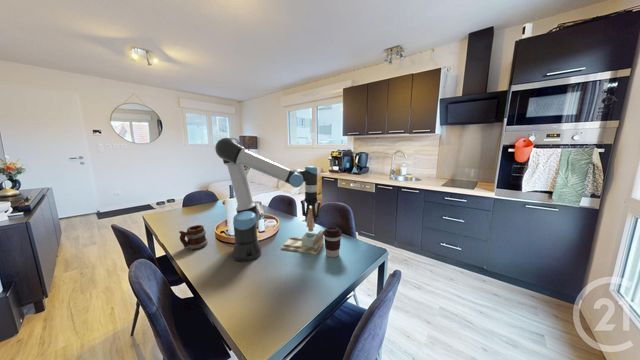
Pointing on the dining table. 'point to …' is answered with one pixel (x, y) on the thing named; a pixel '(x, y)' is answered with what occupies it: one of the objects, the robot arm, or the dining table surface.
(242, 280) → the dining table surface
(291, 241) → the board
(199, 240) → the mug
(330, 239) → the coffee cup
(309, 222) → the dowel
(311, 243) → the block
